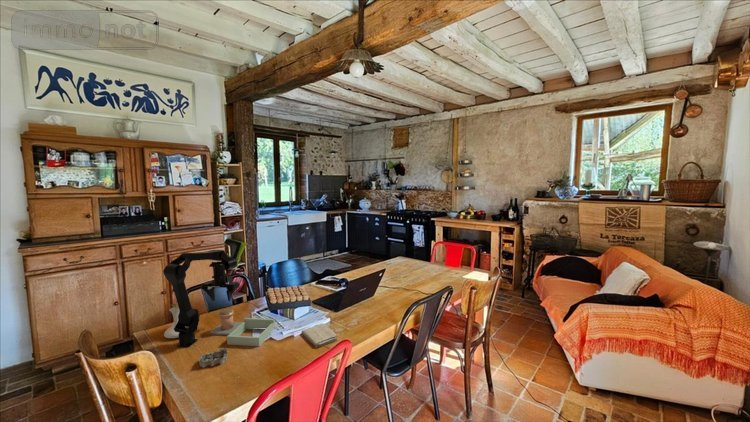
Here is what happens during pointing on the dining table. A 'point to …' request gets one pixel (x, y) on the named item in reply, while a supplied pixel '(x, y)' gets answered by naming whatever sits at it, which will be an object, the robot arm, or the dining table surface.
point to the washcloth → (320, 335)
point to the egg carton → (211, 355)
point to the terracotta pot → (226, 319)
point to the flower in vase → (170, 331)
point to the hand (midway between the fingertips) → (221, 301)
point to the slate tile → (224, 332)
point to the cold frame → (251, 323)
